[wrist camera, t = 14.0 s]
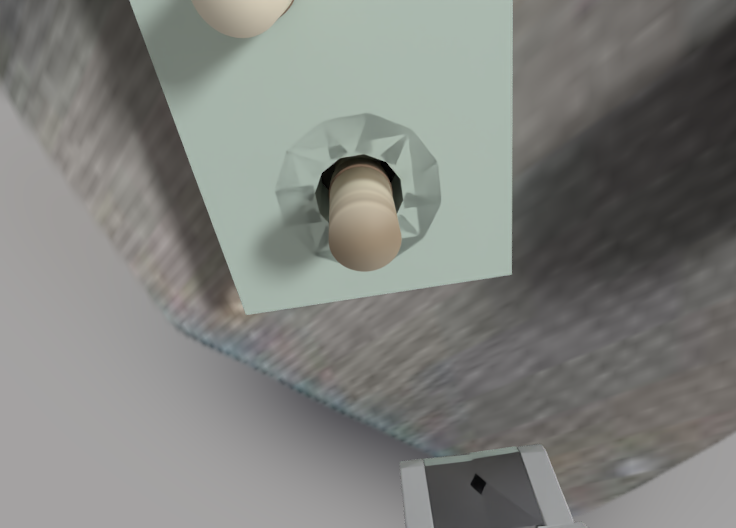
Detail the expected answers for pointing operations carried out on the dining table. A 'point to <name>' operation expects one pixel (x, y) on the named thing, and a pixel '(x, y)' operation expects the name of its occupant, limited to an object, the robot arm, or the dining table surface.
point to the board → (342, 133)
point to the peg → (362, 215)
